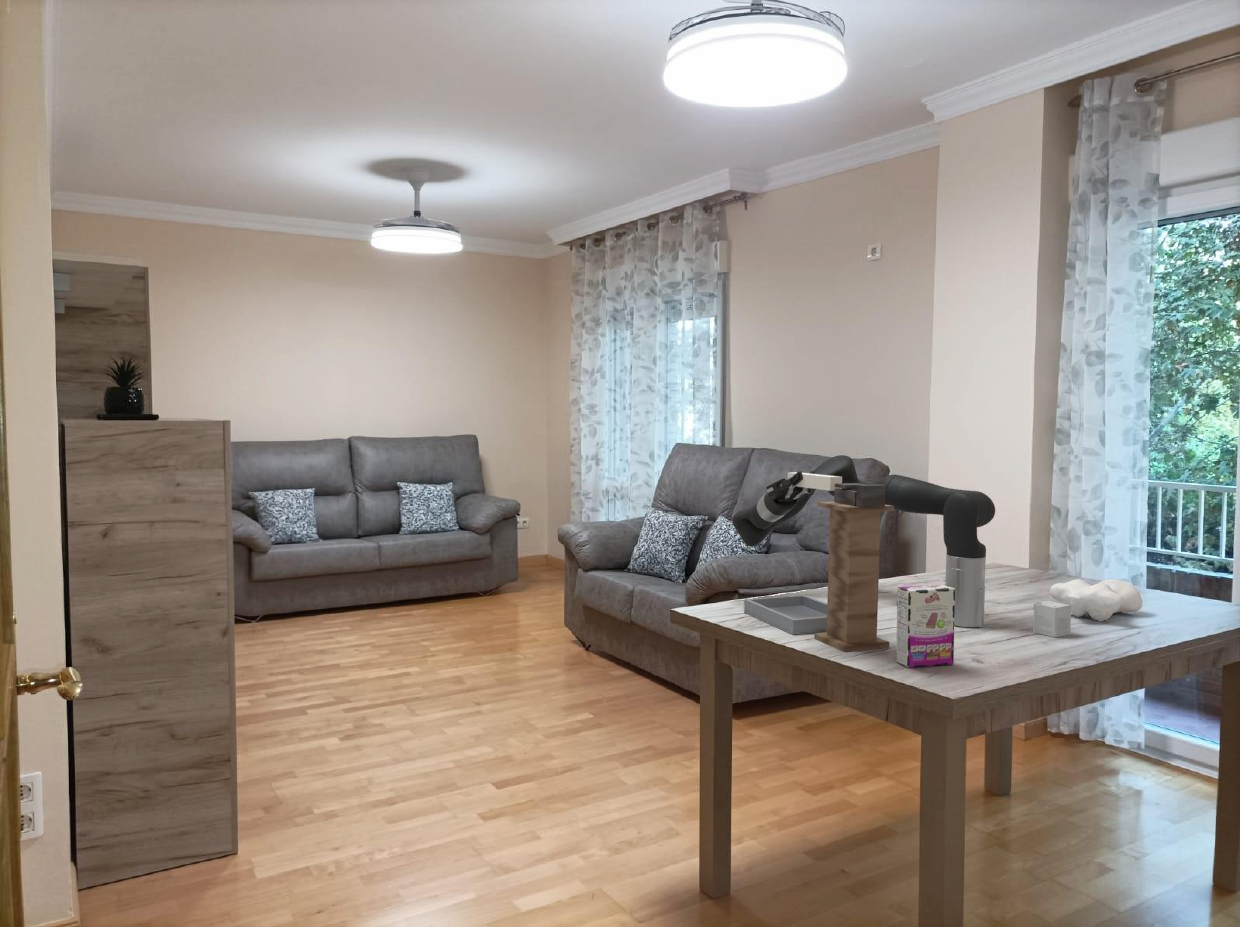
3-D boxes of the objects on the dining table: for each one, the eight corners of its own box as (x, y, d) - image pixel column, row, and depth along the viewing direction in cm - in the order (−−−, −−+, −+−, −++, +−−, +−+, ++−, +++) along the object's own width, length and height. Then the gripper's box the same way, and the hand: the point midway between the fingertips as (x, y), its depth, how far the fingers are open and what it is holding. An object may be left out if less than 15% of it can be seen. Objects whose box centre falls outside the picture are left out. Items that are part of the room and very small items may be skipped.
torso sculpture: (1083, 610, 254) (1036, 613, 239) (1087, 574, 254) (1039, 576, 239) (1153, 623, 239) (1106, 628, 224) (1156, 585, 239) (1110, 587, 224)
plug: (841, 490, 216) (842, 476, 215) (830, 490, 215) (830, 477, 214) (798, 484, 233) (798, 472, 233) (787, 485, 232) (787, 472, 232)
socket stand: (891, 648, 206) (897, 485, 203) (846, 652, 202) (851, 486, 199) (857, 634, 218) (862, 480, 215) (814, 638, 214) (818, 481, 211)
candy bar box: (939, 658, 198) (942, 583, 197) (954, 665, 193) (957, 588, 192) (894, 662, 195) (896, 585, 194) (907, 668, 190) (910, 590, 189)
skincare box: (1070, 635, 220) (1072, 604, 220) (1054, 638, 217) (1056, 607, 217) (1048, 629, 225) (1049, 600, 225) (1032, 632, 222) (1033, 602, 222)
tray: (857, 629, 223) (857, 614, 223) (792, 634, 217) (793, 620, 217) (803, 607, 246) (804, 595, 245) (744, 612, 239) (744, 599, 239)
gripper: (749, 490, 240) (779, 461, 225) (795, 489, 245) (828, 460, 230) (755, 517, 237) (786, 489, 222) (803, 515, 242) (836, 487, 227)
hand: (807, 474), depth 226 cm, fingers closed on plug, 3 cm apart
